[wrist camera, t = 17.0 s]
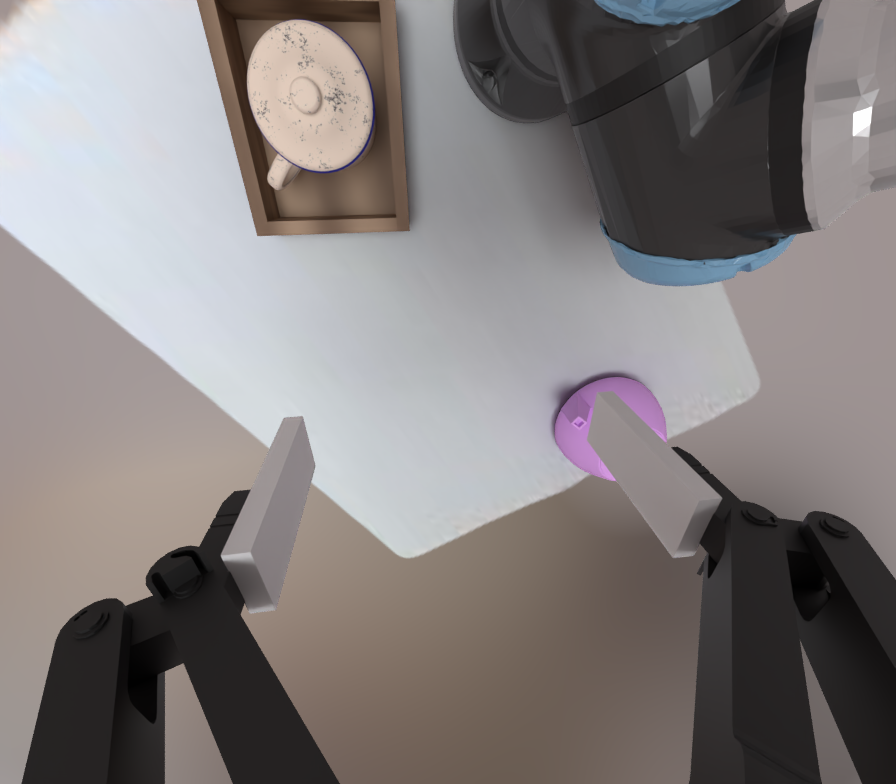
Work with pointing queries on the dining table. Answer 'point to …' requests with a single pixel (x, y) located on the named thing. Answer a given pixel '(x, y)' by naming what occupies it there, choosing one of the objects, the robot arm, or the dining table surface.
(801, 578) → the robot arm
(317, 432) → the dining table surface
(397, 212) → the walnut crate
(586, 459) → the teapot
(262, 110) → the teacup with lid
